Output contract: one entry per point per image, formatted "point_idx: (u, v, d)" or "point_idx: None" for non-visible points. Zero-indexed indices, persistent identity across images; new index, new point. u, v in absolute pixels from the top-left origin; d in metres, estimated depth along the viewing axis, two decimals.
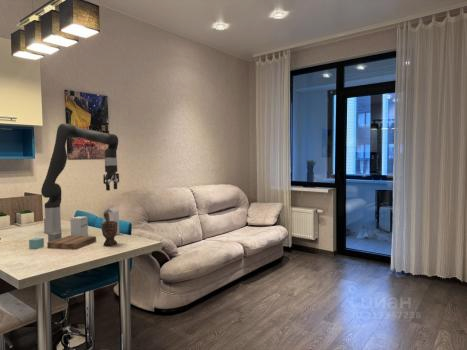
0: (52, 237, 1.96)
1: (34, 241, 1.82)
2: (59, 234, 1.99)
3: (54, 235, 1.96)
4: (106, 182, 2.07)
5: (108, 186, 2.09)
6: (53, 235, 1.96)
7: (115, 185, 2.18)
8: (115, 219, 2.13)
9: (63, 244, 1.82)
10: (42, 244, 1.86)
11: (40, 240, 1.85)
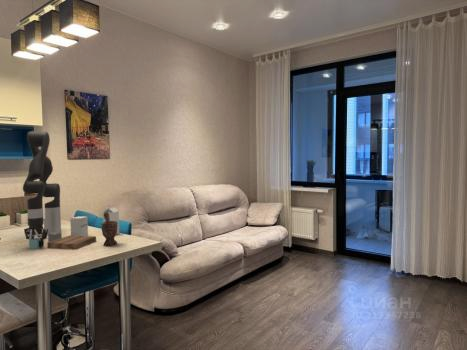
0: (52, 237, 1.96)
1: (34, 241, 1.82)
2: (59, 234, 1.99)
3: (54, 235, 1.96)
4: (46, 237, 1.85)
5: (42, 242, 1.85)
6: (53, 235, 1.96)
7: None
8: (115, 219, 2.13)
9: (63, 244, 1.82)
10: None
11: None
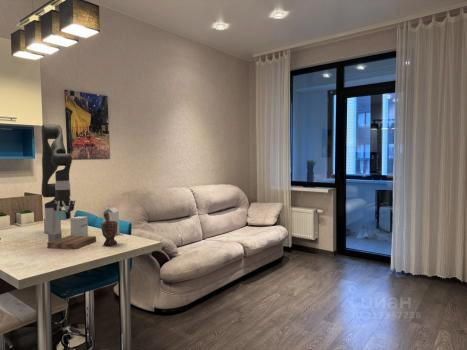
0: (52, 237, 1.96)
1: (61, 212, 1.85)
2: (59, 234, 1.99)
3: (54, 235, 1.96)
4: (73, 209, 1.88)
5: None
6: (53, 235, 1.96)
7: None
8: (115, 219, 2.13)
9: (63, 244, 1.82)
10: None
11: None
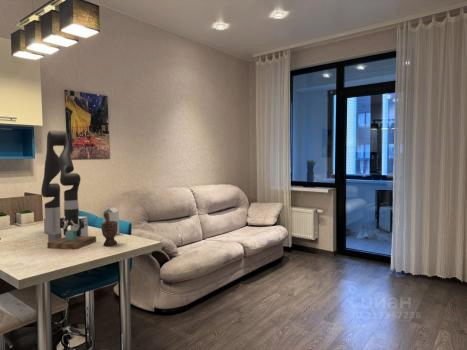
0: (52, 237, 1.96)
1: (70, 233, 1.88)
2: (59, 234, 1.99)
3: (54, 235, 1.96)
4: (83, 226, 1.90)
5: None
6: (53, 235, 1.96)
7: None
8: (115, 219, 2.13)
9: (63, 244, 1.82)
10: None
11: (76, 232, 1.90)
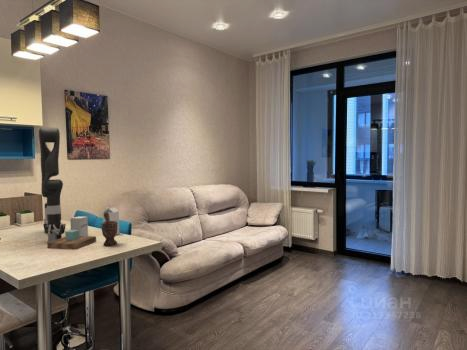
0: (52, 237, 1.96)
1: (70, 233, 1.88)
2: None
3: (54, 235, 1.96)
4: (63, 232, 1.98)
5: None
6: (53, 235, 1.96)
7: None
8: (115, 219, 2.13)
9: (63, 244, 1.82)
10: (77, 236, 1.91)
11: (76, 232, 1.90)
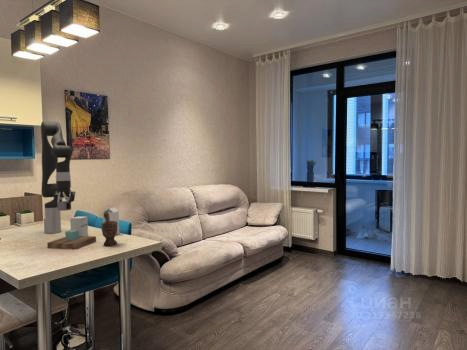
0: (61, 205, 1.89)
1: (70, 233, 1.88)
2: None
3: (63, 202, 1.89)
4: (73, 199, 1.91)
5: None
6: (62, 203, 1.89)
7: None
8: (115, 219, 2.13)
9: (63, 244, 1.82)
10: (77, 236, 1.91)
11: (76, 232, 1.90)
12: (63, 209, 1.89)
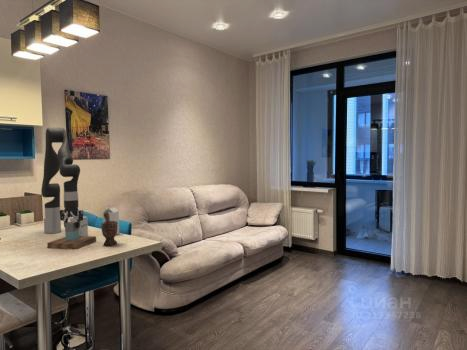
0: (69, 226, 1.88)
1: (70, 233, 1.88)
2: None
3: (71, 224, 1.87)
4: (82, 218, 1.90)
5: None
6: (70, 224, 1.87)
7: None
8: (115, 219, 2.13)
9: (63, 244, 1.82)
10: (77, 236, 1.91)
11: (76, 232, 1.90)
12: (71, 230, 1.88)
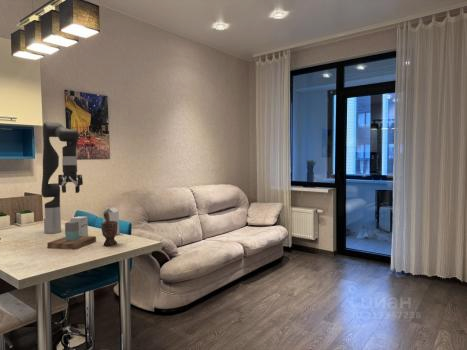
0: (69, 226, 1.88)
1: (70, 233, 1.88)
2: (76, 223, 1.91)
3: (71, 224, 1.87)
4: (82, 183, 1.88)
5: None
6: (70, 224, 1.87)
7: (64, 188, 1.90)
8: (115, 219, 2.13)
9: (63, 244, 1.82)
10: (77, 236, 1.91)
11: (76, 232, 1.90)
12: (71, 230, 1.88)
